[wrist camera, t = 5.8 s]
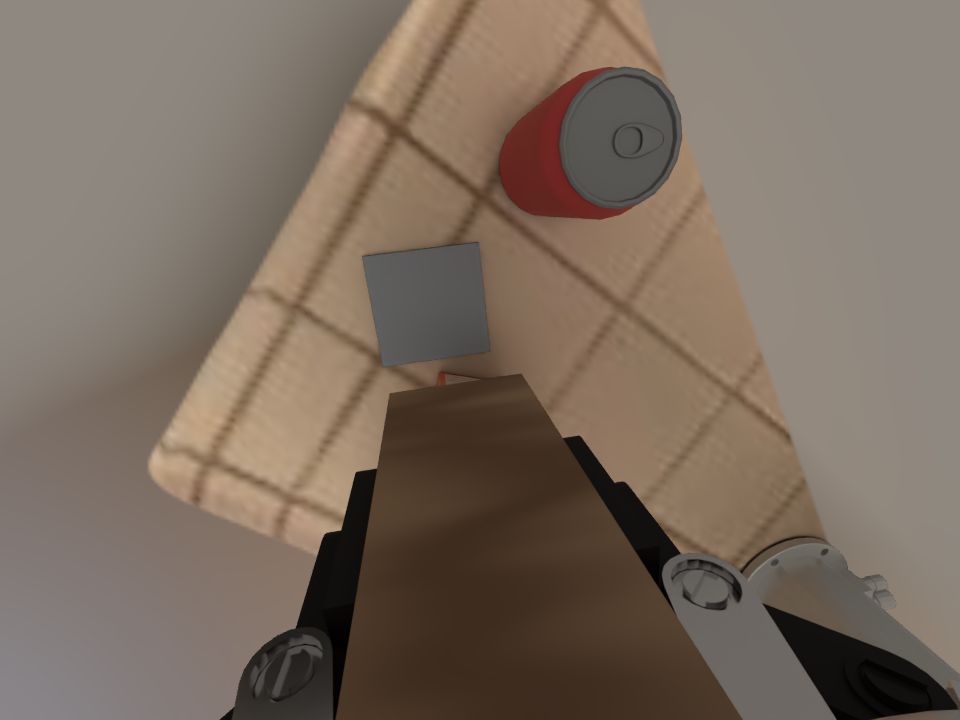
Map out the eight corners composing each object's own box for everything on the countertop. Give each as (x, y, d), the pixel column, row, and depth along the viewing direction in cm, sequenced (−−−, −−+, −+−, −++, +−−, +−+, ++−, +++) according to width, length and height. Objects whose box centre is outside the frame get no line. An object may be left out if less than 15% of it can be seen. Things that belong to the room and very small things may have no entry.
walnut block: (521, 373, 14) (1034, 1176, 2) (530, 485, 15) (887, 1352, 4) (389, 393, 13) (212, 1461, 2) (411, 505, 14) (380, 1541, 3)
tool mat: (477, 242, 31) (478, 242, 31) (488, 349, 34) (489, 351, 33) (362, 256, 31) (362, 256, 30) (383, 364, 33) (383, 367, 33)
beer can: (590, 212, 32) (687, 215, 21) (500, 219, 31) (550, 226, 20) (592, 109, 30) (701, 48, 18) (494, 113, 29) (547, 53, 18)
